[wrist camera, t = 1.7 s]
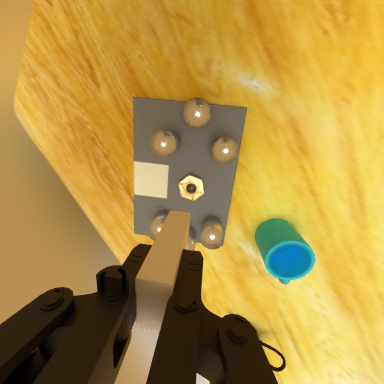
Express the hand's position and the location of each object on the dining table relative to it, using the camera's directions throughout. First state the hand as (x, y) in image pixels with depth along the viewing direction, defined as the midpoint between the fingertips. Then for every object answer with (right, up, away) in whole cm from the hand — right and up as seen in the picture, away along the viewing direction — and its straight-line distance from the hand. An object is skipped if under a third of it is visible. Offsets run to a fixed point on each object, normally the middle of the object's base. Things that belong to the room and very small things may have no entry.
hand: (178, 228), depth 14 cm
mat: (-1, +5, +24) cm, 25 cm away
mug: (+19, -8, +27) cm, 34 cm away
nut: (+1, +4, +24) cm, 24 cm away
